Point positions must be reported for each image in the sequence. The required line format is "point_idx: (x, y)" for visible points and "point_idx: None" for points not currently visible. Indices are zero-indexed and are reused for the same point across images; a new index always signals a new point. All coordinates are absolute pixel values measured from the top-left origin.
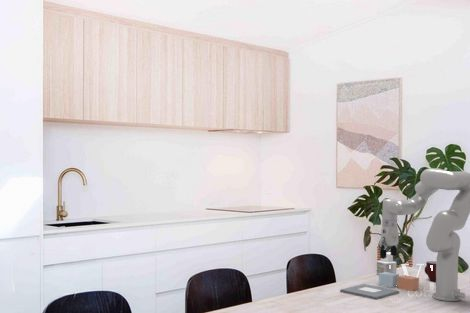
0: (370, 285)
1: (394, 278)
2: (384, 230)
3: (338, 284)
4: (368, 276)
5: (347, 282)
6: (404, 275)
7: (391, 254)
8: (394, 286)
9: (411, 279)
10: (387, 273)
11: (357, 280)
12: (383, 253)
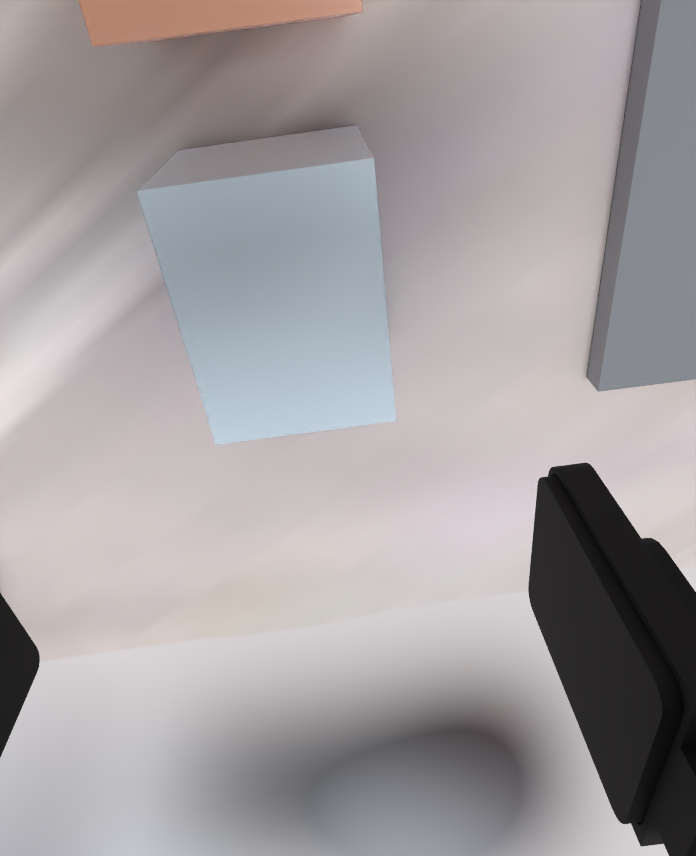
0: (632, 291)
1: (311, 154)
2: None
3: (680, 534)
4: (151, 619)
5: None
6: (114, 21)
7: (24, 655)
8: (306, 133)
9: None
10: (282, 354)
11: (388, 563)
12: (694, 608)
